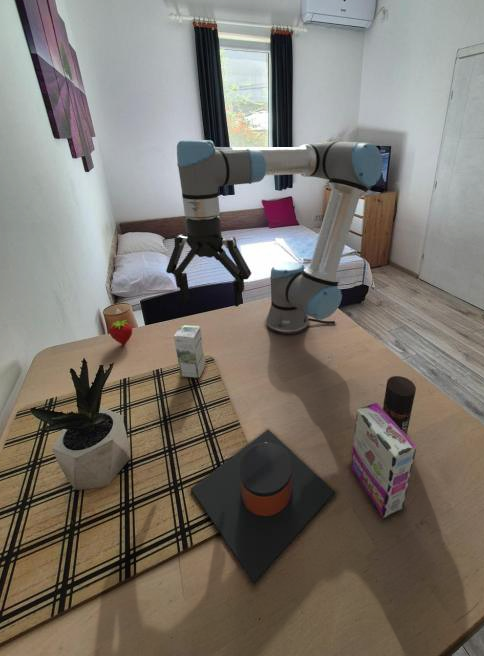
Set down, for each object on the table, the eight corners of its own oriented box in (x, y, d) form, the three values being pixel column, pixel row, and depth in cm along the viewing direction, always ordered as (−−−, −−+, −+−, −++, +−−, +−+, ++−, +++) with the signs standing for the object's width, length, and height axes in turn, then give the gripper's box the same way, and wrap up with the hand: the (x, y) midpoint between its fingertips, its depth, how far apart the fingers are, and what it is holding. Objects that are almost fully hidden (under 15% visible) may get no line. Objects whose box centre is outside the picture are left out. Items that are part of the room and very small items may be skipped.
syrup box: (206, 365, 98) (201, 324, 92) (199, 379, 93) (193, 336, 87) (187, 364, 98) (181, 323, 93) (179, 377, 93) (172, 335, 87)
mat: (268, 430, 77) (268, 429, 76) (334, 493, 63) (334, 491, 63) (191, 490, 64) (190, 488, 64) (254, 584, 51) (253, 582, 50)
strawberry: (121, 337, 111) (114, 312, 107) (139, 340, 109) (134, 315, 105) (107, 347, 106) (101, 321, 102) (127, 351, 104) (120, 324, 100)
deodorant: (387, 420, 79) (395, 372, 73) (410, 435, 75) (420, 385, 69) (374, 435, 76) (381, 385, 70) (397, 451, 72) (407, 400, 66)
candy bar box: (404, 508, 61) (418, 447, 54) (383, 520, 59) (394, 458, 53) (368, 457, 70) (376, 400, 64) (349, 466, 69) (355, 408, 62)
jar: (247, 524, 58) (236, 473, 67) (299, 505, 61) (282, 458, 70) (245, 501, 55) (234, 451, 64) (300, 482, 58) (282, 436, 67)
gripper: (140, 217, 70) (156, 304, 78) (252, 223, 66) (256, 313, 74) (159, 210, 76) (172, 290, 85) (262, 214, 72) (264, 298, 81)
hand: (211, 301), depth 80 cm, fingers open, 13 cm apart
